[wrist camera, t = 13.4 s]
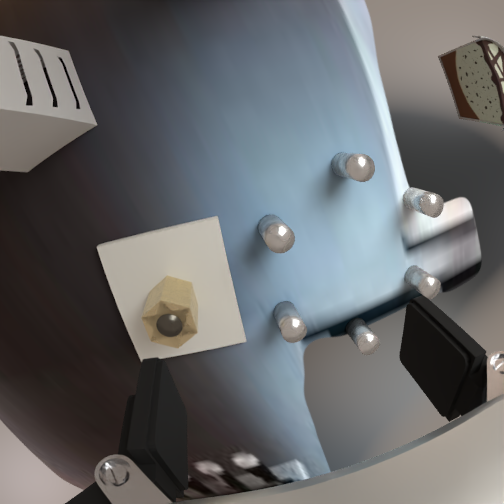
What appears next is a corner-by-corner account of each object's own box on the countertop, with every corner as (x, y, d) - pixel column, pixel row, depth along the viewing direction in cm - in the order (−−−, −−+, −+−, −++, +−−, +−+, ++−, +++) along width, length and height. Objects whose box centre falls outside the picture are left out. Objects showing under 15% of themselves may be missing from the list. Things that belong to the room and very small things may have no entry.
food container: (484, 119, 35) (533, 122, 25) (461, 128, 35) (513, 131, 25) (459, 42, 30) (506, 32, 21) (433, 46, 30) (483, 33, 21)
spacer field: (246, 168, 33) (253, 171, 28) (415, 144, 35) (440, 146, 30) (280, 355, 41) (289, 379, 37) (417, 312, 43) (435, 328, 38)
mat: (99, 244, 33) (96, 247, 32) (217, 215, 34) (217, 217, 33) (142, 357, 39) (141, 361, 38) (245, 337, 40) (246, 341, 39)
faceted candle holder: (146, 280, 34) (136, 305, 29) (188, 270, 35) (185, 295, 29) (161, 323, 36) (155, 353, 30) (201, 314, 37) (201, 344, 31)
